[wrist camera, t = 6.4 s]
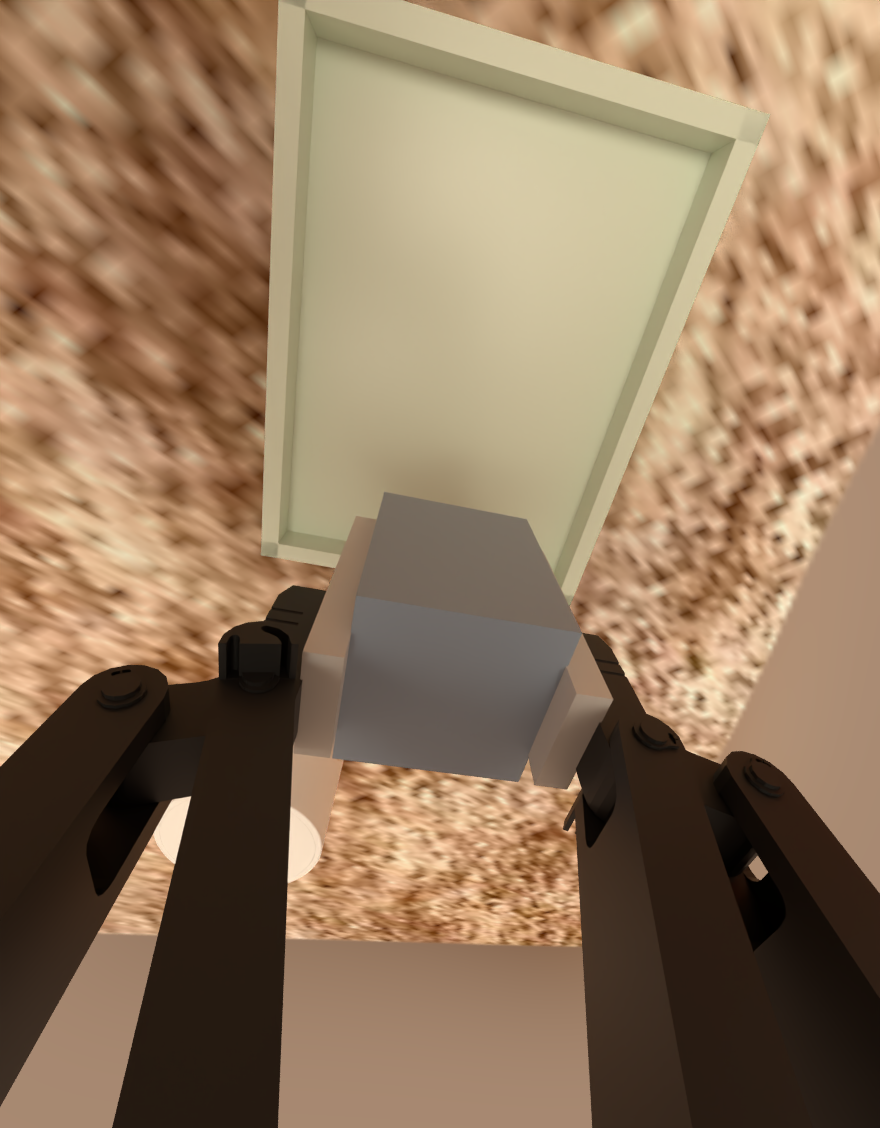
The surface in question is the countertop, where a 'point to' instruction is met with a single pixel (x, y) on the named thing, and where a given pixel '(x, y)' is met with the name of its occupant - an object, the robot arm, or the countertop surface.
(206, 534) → the countertop surface
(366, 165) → the tray
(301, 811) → the mug
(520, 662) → the grey rectangular block
